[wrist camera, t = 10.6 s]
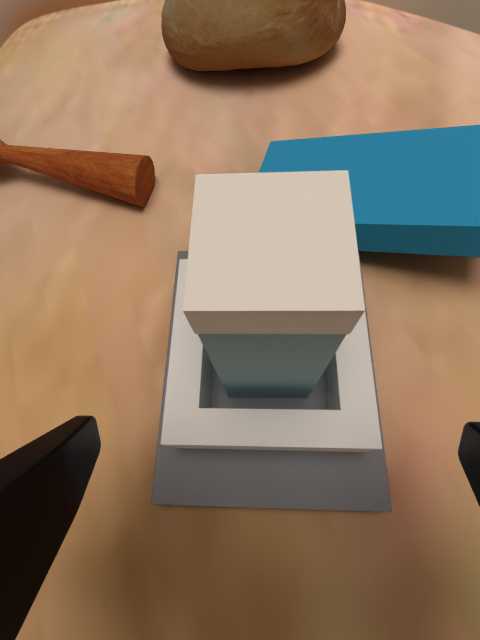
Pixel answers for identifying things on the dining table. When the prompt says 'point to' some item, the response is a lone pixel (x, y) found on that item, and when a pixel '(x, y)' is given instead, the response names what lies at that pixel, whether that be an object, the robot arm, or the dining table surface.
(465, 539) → the dining table surface
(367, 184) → the blue long block
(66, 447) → the robot arm
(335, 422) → the board
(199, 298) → the box with white lid
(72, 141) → the dining table surface
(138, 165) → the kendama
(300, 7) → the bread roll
